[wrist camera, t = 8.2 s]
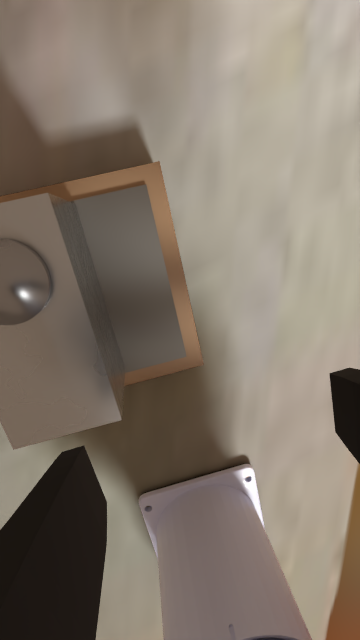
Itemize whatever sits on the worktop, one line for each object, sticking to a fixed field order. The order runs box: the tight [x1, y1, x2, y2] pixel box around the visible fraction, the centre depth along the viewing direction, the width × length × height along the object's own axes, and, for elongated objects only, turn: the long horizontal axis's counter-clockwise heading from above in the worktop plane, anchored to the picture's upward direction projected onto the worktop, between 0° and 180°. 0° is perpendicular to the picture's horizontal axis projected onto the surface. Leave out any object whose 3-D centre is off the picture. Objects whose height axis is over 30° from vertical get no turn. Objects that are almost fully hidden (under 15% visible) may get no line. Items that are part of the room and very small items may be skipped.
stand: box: [0, 162, 204, 386], centre depth 16 cm, size 10×12×2 cm
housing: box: [0, 193, 125, 450], centre depth 12 cm, size 8×4×5 cm, turn 12°
